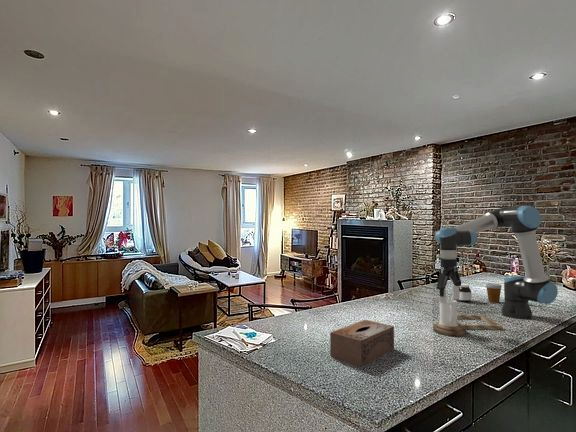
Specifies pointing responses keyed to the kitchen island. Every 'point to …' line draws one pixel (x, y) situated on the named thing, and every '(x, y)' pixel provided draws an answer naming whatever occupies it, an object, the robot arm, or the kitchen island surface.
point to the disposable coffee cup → (493, 292)
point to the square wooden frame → (492, 326)
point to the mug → (448, 313)
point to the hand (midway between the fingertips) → (449, 300)
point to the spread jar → (464, 293)
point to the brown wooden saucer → (449, 330)
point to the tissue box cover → (361, 342)
